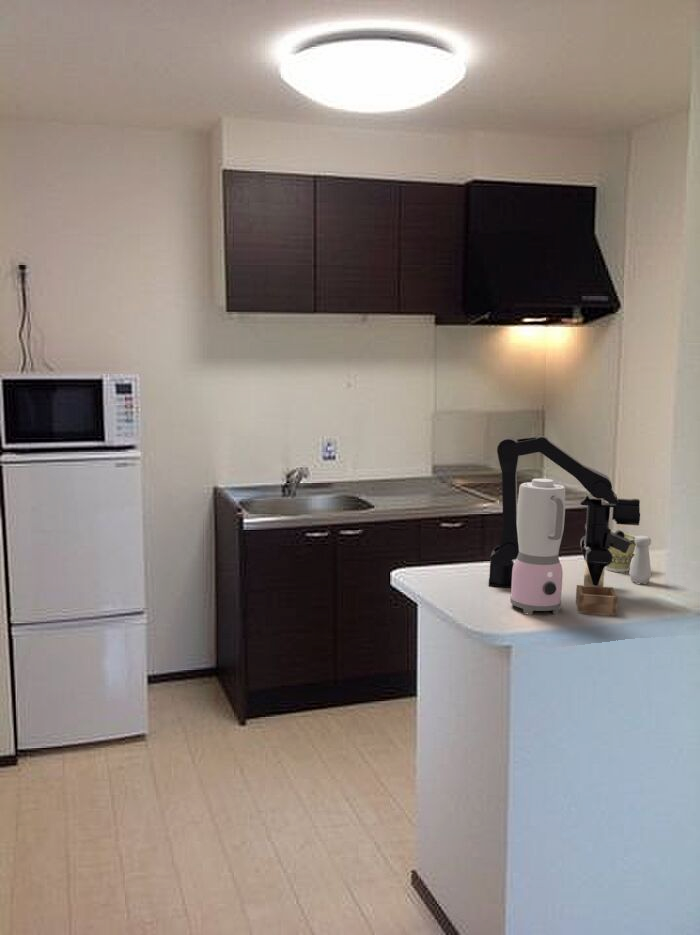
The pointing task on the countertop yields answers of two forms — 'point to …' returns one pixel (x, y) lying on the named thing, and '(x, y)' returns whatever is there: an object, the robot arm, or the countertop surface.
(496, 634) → the countertop surface
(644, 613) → the countertop surface
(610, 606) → the wooden square box
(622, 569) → the ceramic cup
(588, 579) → the beech peg
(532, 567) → the blender
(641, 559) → the salt shaker
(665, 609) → the countertop surface
